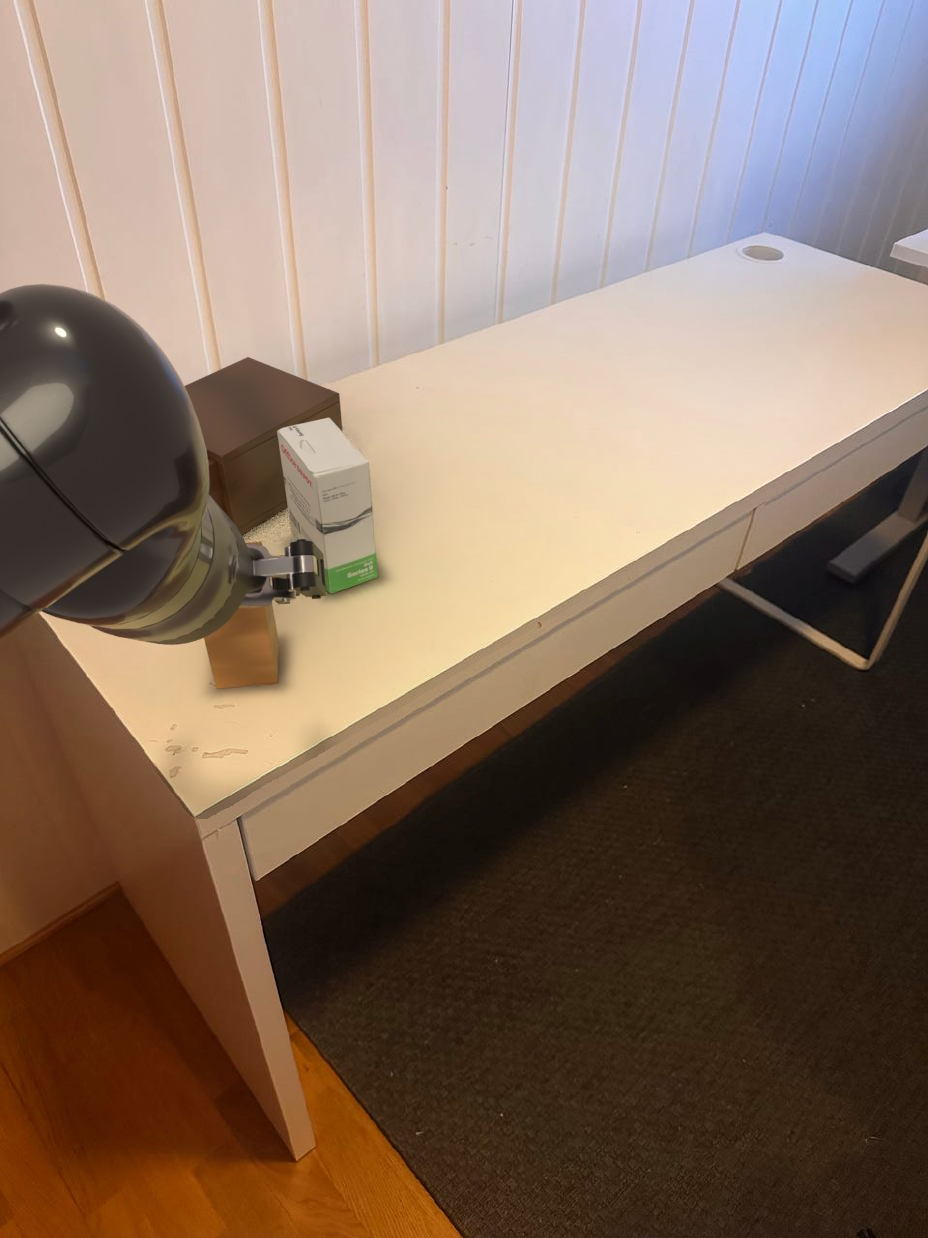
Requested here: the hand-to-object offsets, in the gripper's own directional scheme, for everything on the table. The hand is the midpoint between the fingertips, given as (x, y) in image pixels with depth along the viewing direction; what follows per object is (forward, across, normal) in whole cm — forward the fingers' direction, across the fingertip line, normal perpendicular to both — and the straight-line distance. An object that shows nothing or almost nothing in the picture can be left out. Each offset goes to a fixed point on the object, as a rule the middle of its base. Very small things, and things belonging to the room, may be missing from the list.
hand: (214, 592), depth 56 cm
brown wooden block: (+14, 0, +4) cm, 14 cm away
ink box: (+22, -7, -4) cm, 24 cm away
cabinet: (+32, +1, -14) cm, 35 cm away
